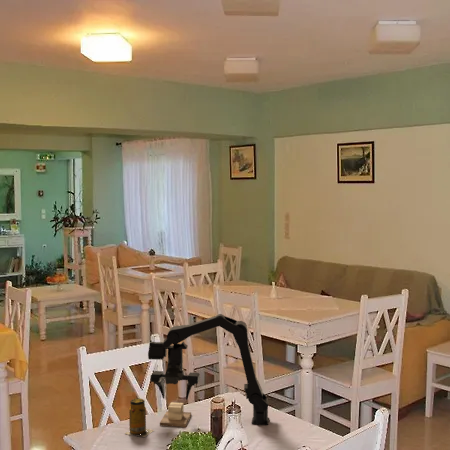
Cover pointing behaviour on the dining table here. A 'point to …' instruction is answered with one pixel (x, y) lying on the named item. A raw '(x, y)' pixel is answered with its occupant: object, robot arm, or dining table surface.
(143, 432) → the condiment
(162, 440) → the dining table surface
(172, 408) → the maple cube
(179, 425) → the serving board
